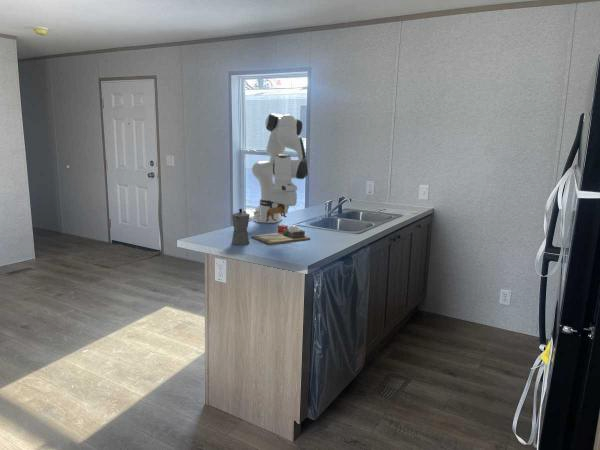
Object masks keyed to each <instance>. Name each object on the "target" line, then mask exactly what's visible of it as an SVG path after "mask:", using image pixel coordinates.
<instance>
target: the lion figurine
mask: <svg viewBox="0 0 600 450" xmlns="http://www.w3.org/2000/svg"><path fill="white" fill-rule="evenodd" d="M284 209H285V207H284V205H283V204H279V206H278V207H275V208H269V209H268V211H267V220H266V222H267V221H269V219H268V218H269V216H270V215H271V217H272V219H273V220H274V221H276V219H274V213H275V214H279V213H280V214H281V217H283V218H287V215H286V213H283V210H284Z"/></svg>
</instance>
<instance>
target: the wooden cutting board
mask: <svg viewBox="0 0 600 450" xmlns="http://www.w3.org/2000/svg"><path fill="white" fill-rule="evenodd" d="M288 229H289V228H288ZM288 229H284V230H283V232H279V233H278V232H271V233H265V234H256V235H250V238H251V239H254V240H256V241H258V242H260V243H263V244H266V245H268V246H272V245H273V246H274V245H280V244H287V243H296V242H301V241H303V242H304V241H308V240H309V241H310V240H311V237H309V236H306V231H305V230H303V229H300V231H298V232H290V231H288Z"/></svg>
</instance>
